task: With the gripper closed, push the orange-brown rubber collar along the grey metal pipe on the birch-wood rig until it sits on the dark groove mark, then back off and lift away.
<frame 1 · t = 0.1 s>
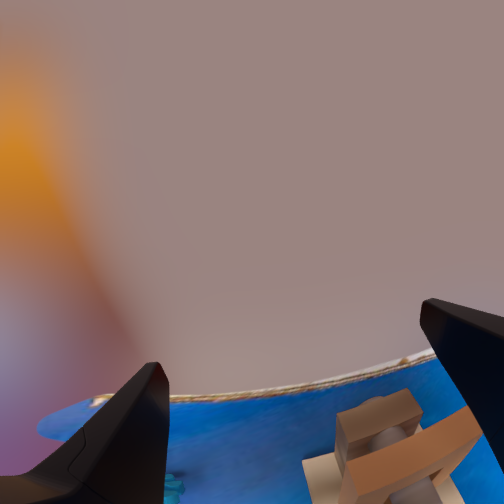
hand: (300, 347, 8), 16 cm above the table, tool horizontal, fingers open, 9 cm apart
collar: (404, 477, 10), point 6 cm above the table, slide at 6.0 cm
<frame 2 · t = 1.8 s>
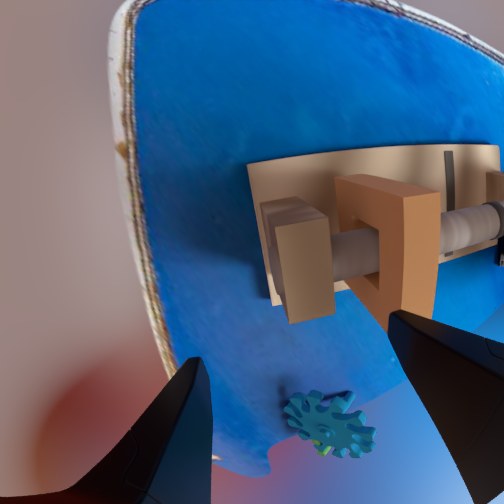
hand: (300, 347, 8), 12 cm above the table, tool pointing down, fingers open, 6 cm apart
collar: (381, 247, 14), point 6 cm above the table, slide at 6.0 cm
pipe rig: (408, 208, 20), on the table
gear: (318, 402, 27), on the table
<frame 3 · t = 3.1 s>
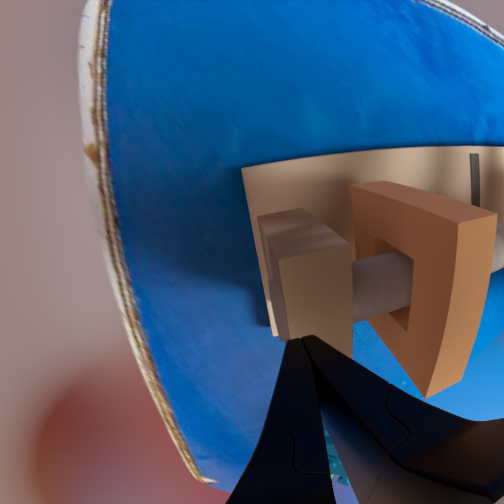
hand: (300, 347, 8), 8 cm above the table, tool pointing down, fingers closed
collar: (410, 275, 11), point 6 cm above the table, slide at 6.0 cm
pipe rig: (430, 220, 17), on the table
gear: (324, 428, 23), on the table
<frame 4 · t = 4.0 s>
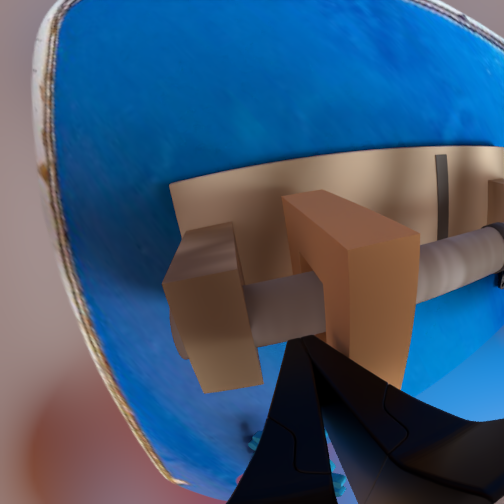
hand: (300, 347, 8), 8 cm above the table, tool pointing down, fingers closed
collar: (337, 296, 11), point 6 cm above the table, slide at 5.8 cm, touching gripper
pipe rig: (387, 229, 16), on the table
gear: (288, 437, 23), on the table
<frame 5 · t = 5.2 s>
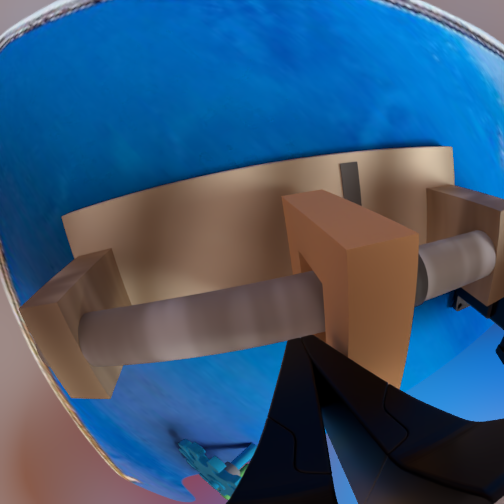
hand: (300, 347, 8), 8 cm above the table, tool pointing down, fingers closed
collar: (336, 296, 11), point 6 cm above the table, slide at -1.0 cm, touching gripper
pipe rig: (284, 250, 16), on the table
gear: (220, 448, 23), on the table
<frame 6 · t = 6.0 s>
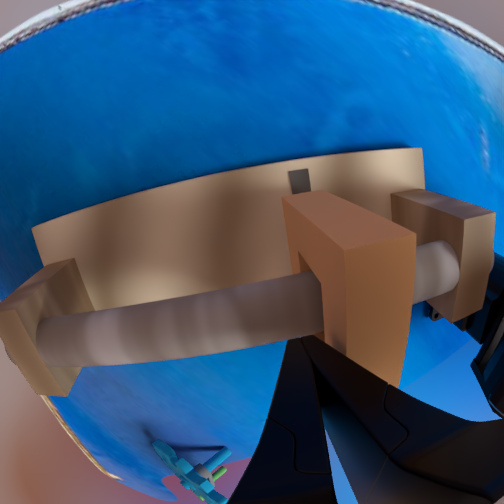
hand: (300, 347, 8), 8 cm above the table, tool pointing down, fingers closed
collar: (335, 296, 11), point 6 cm above the table, slide at -3.7 cm, touching gripper
pipe rig: (236, 260, 16), on the table
gear: (194, 449, 23), on the table
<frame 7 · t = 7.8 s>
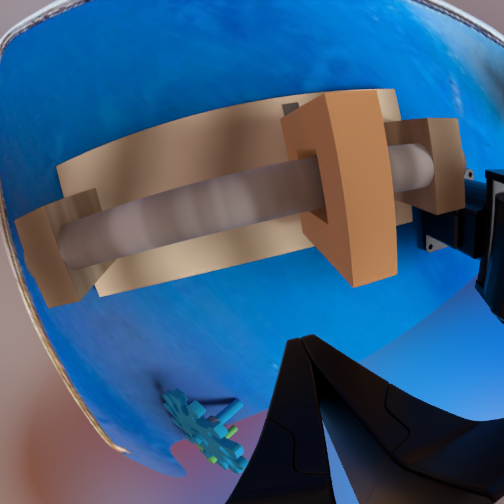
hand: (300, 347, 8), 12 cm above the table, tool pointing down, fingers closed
collar: (331, 179, 13), point 6 cm above the table, slide at -3.9 cm
pipe rig: (241, 183, 18), on the table
gear: (205, 405, 25), on the table
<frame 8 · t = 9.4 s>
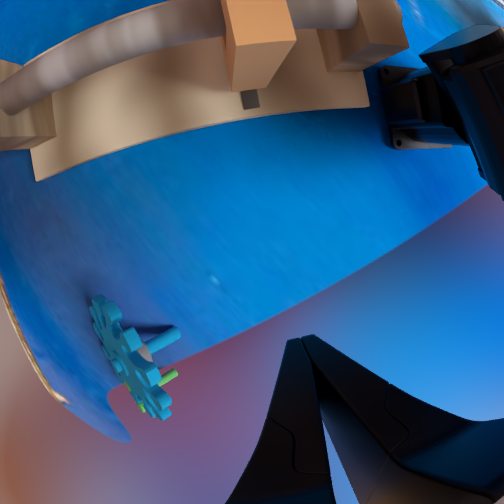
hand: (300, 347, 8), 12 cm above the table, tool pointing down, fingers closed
collar: (241, 11, 10), point 6 cm above the table, slide at -3.9 cm
pipe rig: (178, 62, 15), on the table
gear: (140, 335, 22), on the table
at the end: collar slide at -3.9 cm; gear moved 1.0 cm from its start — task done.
